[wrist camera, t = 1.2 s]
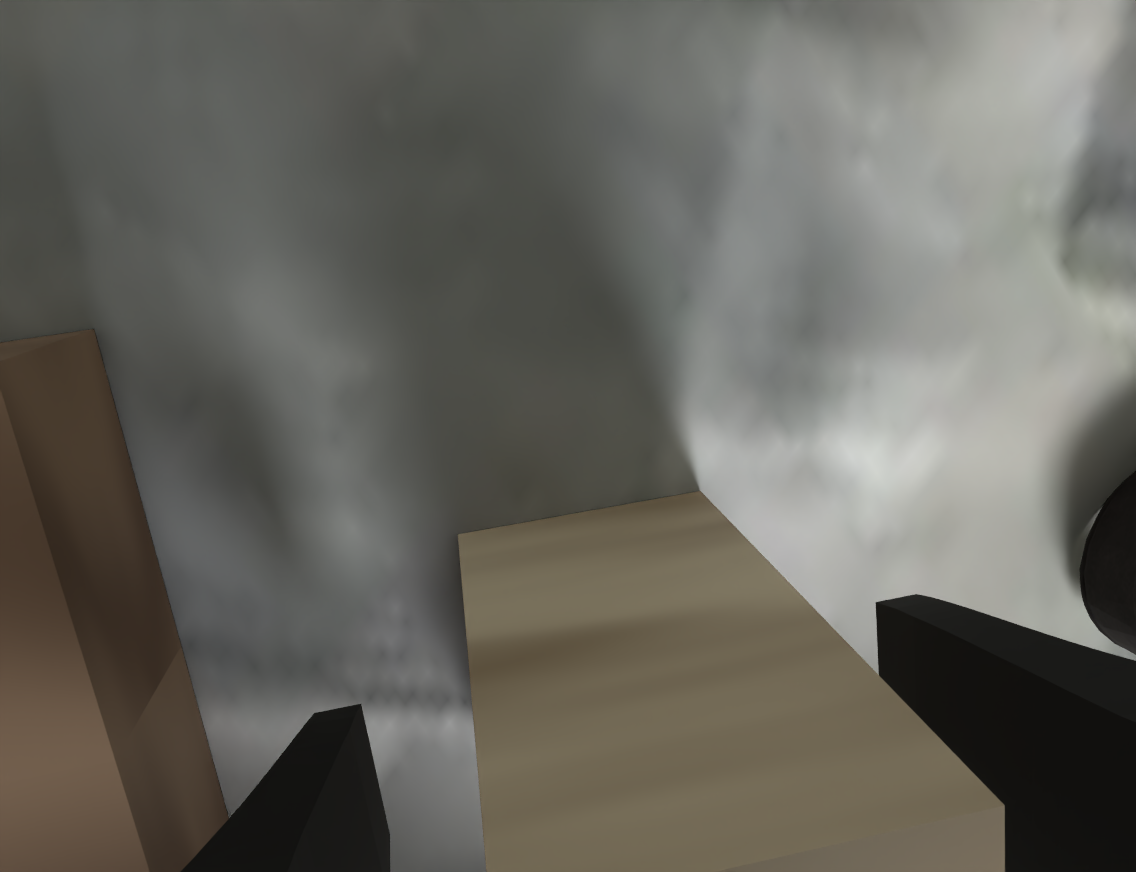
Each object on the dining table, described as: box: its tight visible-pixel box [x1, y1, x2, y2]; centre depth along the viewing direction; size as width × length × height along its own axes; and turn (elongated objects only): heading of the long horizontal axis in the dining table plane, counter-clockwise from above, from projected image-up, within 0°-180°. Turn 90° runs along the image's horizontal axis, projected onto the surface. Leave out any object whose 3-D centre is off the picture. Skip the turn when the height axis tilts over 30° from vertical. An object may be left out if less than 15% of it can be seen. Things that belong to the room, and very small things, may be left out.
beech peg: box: [458, 491, 1005, 872], centre depth 11 cm, size 4×4×8 cm
